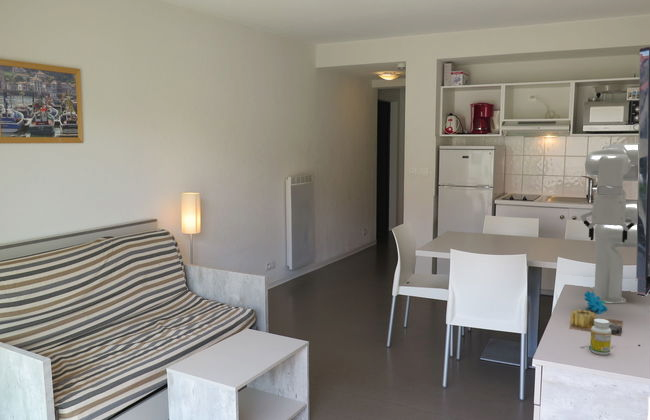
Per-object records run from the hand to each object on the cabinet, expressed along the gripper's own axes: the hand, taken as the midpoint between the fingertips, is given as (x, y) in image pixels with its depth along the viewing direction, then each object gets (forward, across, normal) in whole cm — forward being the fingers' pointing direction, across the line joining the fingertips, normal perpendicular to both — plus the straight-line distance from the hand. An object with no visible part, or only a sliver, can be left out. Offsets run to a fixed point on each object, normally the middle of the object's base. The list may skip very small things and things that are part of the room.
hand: (607, 240), depth 184 cm
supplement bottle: (+28, +1, -33) cm, 43 cm away
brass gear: (+27, -6, -12) cm, 30 cm away
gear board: (+28, -2, -10) cm, 30 cm away
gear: (+29, -3, +7) cm, 30 cm away
